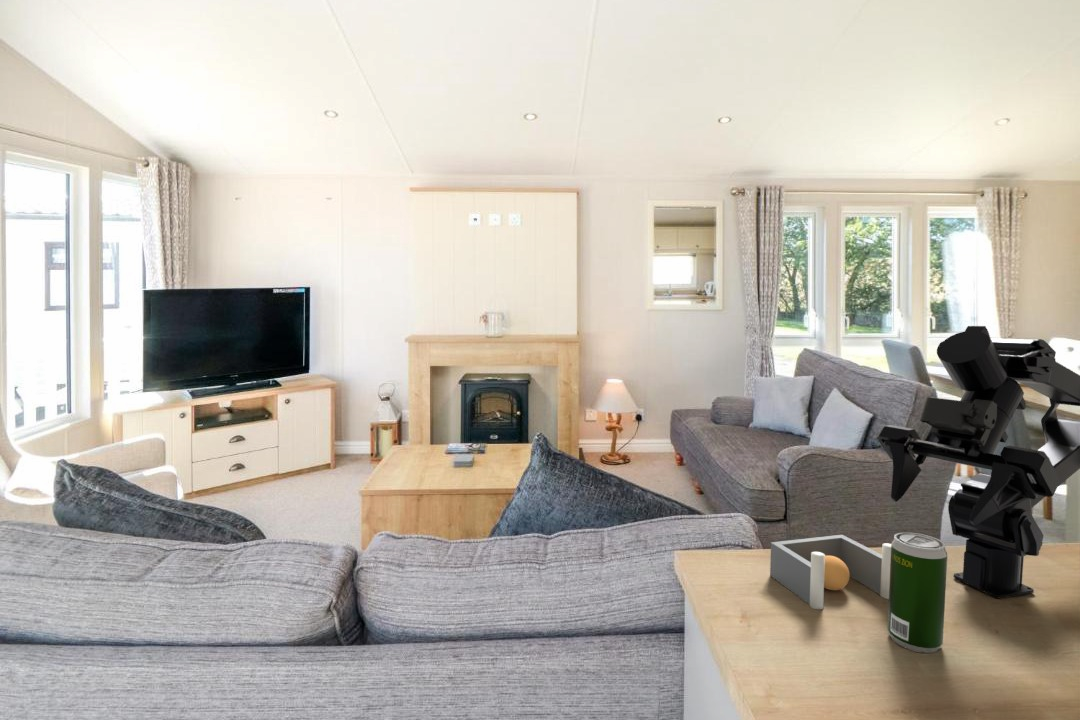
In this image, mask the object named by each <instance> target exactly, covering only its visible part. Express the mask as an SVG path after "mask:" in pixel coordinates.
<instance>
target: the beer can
mask: <svg viewBox="0 0 1080 720" xmlns="http://www.w3.org/2000/svg"><path fill="white" fill-rule="evenodd" d="M890 544H891V564H890V587H889V599H888V613H887V614H888V616H887V631H888V634H889V636H890V638H891V639H892V641H893V642H894V643H896V644H897V645H899V646H900V647H903V648H905V649H908V650H909V651H914V652H917V653H922V654H930V653H931V654H932V653H936V652H938V651H939V650H940V648H941V647H942V646H943V645H944V644H943V643H944V642H943V641H944V627H945V626H944V625H945V610H946V609H945V607H946V606H945V605H946V604H945V603H946V587H947V570H948V568H947V567H948V552H947V550H946V544H945V542H944V541H943V540H940V539H939V538H935V537H934V536H931V535H926V534H923V533H917V532H898V533H895V534H894V535H893V540H892V541H891V543H890Z"/></svg>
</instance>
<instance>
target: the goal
mask: <svg viewBox="0 0 1080 720" xmlns="http://www.w3.org/2000/svg"><path fill="white" fill-rule="evenodd" d="M891 544H892V543H888V542H887V543H886V542H885V543H882V544H881V545H882V546H881V547H882V548H881V553H879V552H877V551H875V550H873V549H872V548H869V547H867V546H865V545H864V544H861V543H859V542H858V541H856V540H854V539H851V538H850V537H847V536H846V535H844V534H835V535H826V536H818V537H808V538H799V539H788V540H781V541H772V542H770V563H769V564H770V565H769V566H770V568H769V569H770V570H769V571H770V572H769V576H770V577H771V576H772V577H773V579H774V580H775V579H776V581H777V582H778V583H779V582H780V583H779V584H781V586H783V585H784V587H785V588H787V589H788V590H789V591H790V590H791V591H790V592H792V593H793V592H794V593H793V594H794V595H796V594H797V595H798V596H797V595H796V596H797V597H798V598H800V599H801V598H802V600H803V601H804V600H805V601H804V602H806V603H807V604H808V605H809V607H810V608H811V609H814V610H823V609H824V598H825V597H824V595H825V594H824V593H825V588H824V571H825V556H828V555H829V556H834V557H837V558H839V559H840V560H842V561H843V562H844V563H845V564H846V566H847V568H848V570H849V575H850V577H849V578H852V579H853V580H855V581H857V582H858V581H859V583H860V584H861V585H863V584H864V586H866V587H867V588H868V587H869V589H870V590H872V591H873V592H876V594H879V595H880V597H881V598H883V599H886V600H889V587H890V564H891ZM772 577H771V578H772Z"/></svg>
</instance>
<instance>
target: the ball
mask: <svg viewBox="0 0 1080 720" xmlns="http://www.w3.org/2000/svg"><path fill="white" fill-rule="evenodd" d="M850 578H851V577H850V575H849V570H848V568H847V566H846V564H845V563H844V562H843V561H842V560H840V559H839V558H837V557H834V556H829V555H828V556H825V571H824V589H827V590H829V591H839V590H841V589H844V588H845V587H846V586H847V585H848V583H849V581H850Z"/></svg>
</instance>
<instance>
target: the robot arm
mask: <svg viewBox="0 0 1080 720" xmlns="http://www.w3.org/2000/svg"><path fill="white" fill-rule="evenodd" d="M936 354H937V357H938V359H939V360H940V362H941V364H942V365H943V367H944V369H945V371H946V372H947V374H948V375H949V377H950V379H951V381H952V382H953V384H954V386H956V387H957V388H958V389H960V390H963V391H964V393H963V394H962V396H961V398H960V400H956V399H948V398H939V397H934V396H932V397H931V396H929V397H928V396H927V397H926V400H925V402H924V405H923V410H922V412H921V416H920V419H919V421H920V422H921V423H926V424H927V425H929V426H930V427H931V429H930V430H929V432H930V434H931V436H932V437H934V438H937V439H938V440H937V442H932V441H927V440H922V439H921V437H920V436H919V434H918V432H917V430H916V429H915V428H910V427H904V426H898V425H892V424H888V425H884V426H883V427H881V429H880V431H879V432H878V434H877V436H876V440H877V441H878V443H879V444H880V445H881V447H882V448H883V450H884V451H885V452H886V454H887V455H888V457H889V458H890V459H891V460H892V478H891V480H892V481H891V489H890V490H891V491H890V498H891V499H892V501H893V502H896V503H898V501H899V500H900V499H902V498H903V496H904V495H905V494H906V492H907V491H908V489H909V488H910V487H911V485H912V484H913V482H914V481H915V480H916V478H917V477H918V475H919V474H920V473H921V472H922V469H921V467H920V465H923V464H924V462H925V460H926V459H927V457H929V458H933V459H938V460H941V461H942V460H943V461H947V462H951V463H956V464H960V465H964V466H969V467H973V468H979V469H984V470H988V471H991V472H990V474H985V473H984V474H983V473H980V472H979V473H977V474H974V475H973V476H972V477H970V479H969V480H968V481H965V482H962V483H960V486H961V487H960V488H959V489H958V490H957V491H956V492H955V493H954V494H952V495H951V497H950V499H949V501H948V506H947V508H948V509H947V512H948V515H949V516H948V517H949V520H950V527H951V532H952V533H951V534H952V535H953V536H956V537H957V536H959V537H962V538H965V551H964V552H963V563H962V564H963V567H962V572H955V573H953V578H954V579H956V580H959V581H960V582H963V583H964V584H966V585H969V586H971V587H973V588H975V589H977V590H979V591H981V592H983V593H985V594H988V595H990V596H991V597H993V598H996V599H1003V598H1009V597H1016V596H1023V595H1028V594H1029V595H1030V594H1034V592H1035V589H1034V588H1032V587H1031V586H1029V585H1026V584H1024V583H1023V571H1024V560H1025V559H1024V557H1026V556H1032V557H1033V556H1034V557H1038V556H1039V555H1040V551H1041V548H1042V546H1043V540H1044V533H1043V532H1042V530H1041V528H1040V527H1039V525H1038V524H1037V521H1036V519H1034V516H1033V511H1032V510H1033V509H1032V508H1034V507H1035V506H1036V505H1038V504H1039V503H1040V502H1042V501H1043V500H1044V498H1046V497H1048V498H1050V497H1053V496H1054V495H1055V494H1056V491H1057V488H1058V487H1059V486H1060V485H1062V484H1063V483H1064V482H1065V481H1067V480H1068V479H1069V478H1071V476H1073V475H1074V474H1075V473H1076V472H1077V471H1079V470H1080V419H1073V418H1064V417H1058V415H1057V411H1056V410H1057V409H1058V407H1059V406H1060V405H1064V406H1065V405H1067V406H1075V407H1080V374H1078V373H1077V372H1075V371H1073V370H1071V369H1070V368H1068V367H1066V366H1064V365H1062V364H1061V363H1060V362H1058V361H1056V351H1055V350H1054V348H1052V346H1050V345H1049V343H1048V342H1047V341H1046V340H1044V339H1041V338H1018V337H1017V338H1014V337H991V336H990V333H989V330H988V328H987V327H986V325H968V326H967V327H966V329H965V330H964V331H960V332H957V333H955V334H952V335H951V336H949V337H947V338H946V339H944V340H943V341H940V343H939V344H938V346H937V349H936ZM1020 384H1021V385H1023V386H1026V388H1027V387H1028V388H1029V389H1031V390H1033V391H1035V392H1037V393H1038V394H1041V395H1043V396H1045V397H1047V398H1049V403H1050V405H1049V406H1050V407H1049V408H1048V409H1047V411H1046V412H1045V414H1044V415H1043V416H1042V417H1041V419H1040V423H1041V427H1042V432H1043V437H1044V445H1042V446H1041V447H1039V448H1038V449H1037V450H1036V449H1031V448H1027V447H1026V448H1025V447H1019V446H1015V445H1006V446H1003V448H1002V450H1001V451H1000V455H999V454H994V452H995V451H996V449H997V447H998V445H999V443H1006V442H1007V440H1008V439H1009V435H1008V434H1007V431H1006V429H1007V428H1008V426H1009V424H1010V421H1011V420H1012V418H1013V416H1014V414H1015V412H1016V410H1022V411H1024V410H1026V407H1027V406H1026V405H1027V404H1026V400H1025V397H1024V394H1025V392H1024V390H1023V388H1022V386H1021V385H1020Z"/></svg>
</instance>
